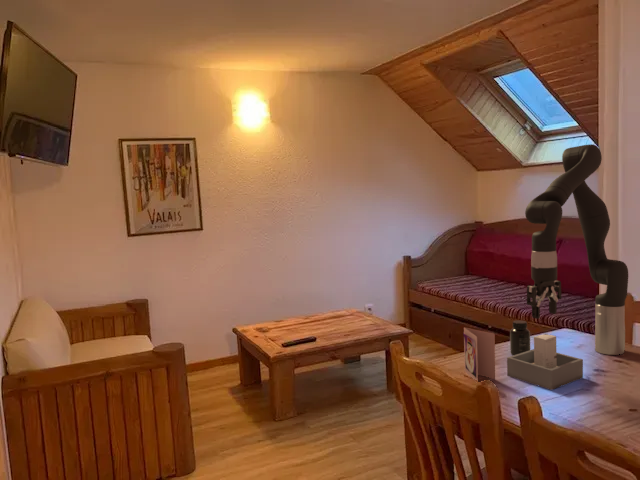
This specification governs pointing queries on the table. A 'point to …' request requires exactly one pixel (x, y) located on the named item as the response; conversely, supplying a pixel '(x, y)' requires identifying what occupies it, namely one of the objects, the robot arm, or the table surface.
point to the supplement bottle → (519, 337)
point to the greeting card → (479, 353)
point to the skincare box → (545, 351)
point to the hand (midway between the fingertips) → (544, 315)
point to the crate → (545, 370)
